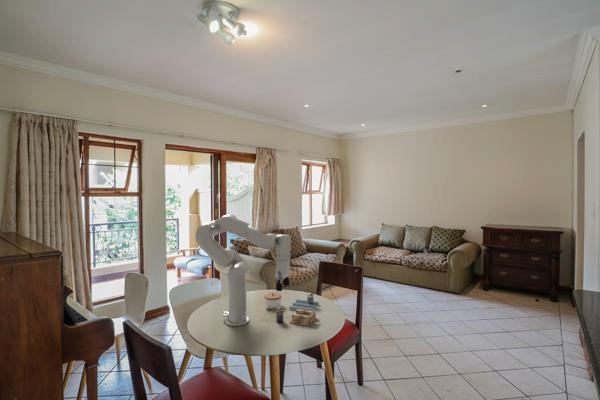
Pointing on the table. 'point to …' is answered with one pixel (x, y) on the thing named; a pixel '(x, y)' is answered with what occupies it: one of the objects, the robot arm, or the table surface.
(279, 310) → the cell
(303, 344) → the table surface
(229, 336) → the table surface
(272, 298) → the lidded jar
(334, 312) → the table surface
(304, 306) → the trough board
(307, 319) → the cradle
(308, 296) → the cell
